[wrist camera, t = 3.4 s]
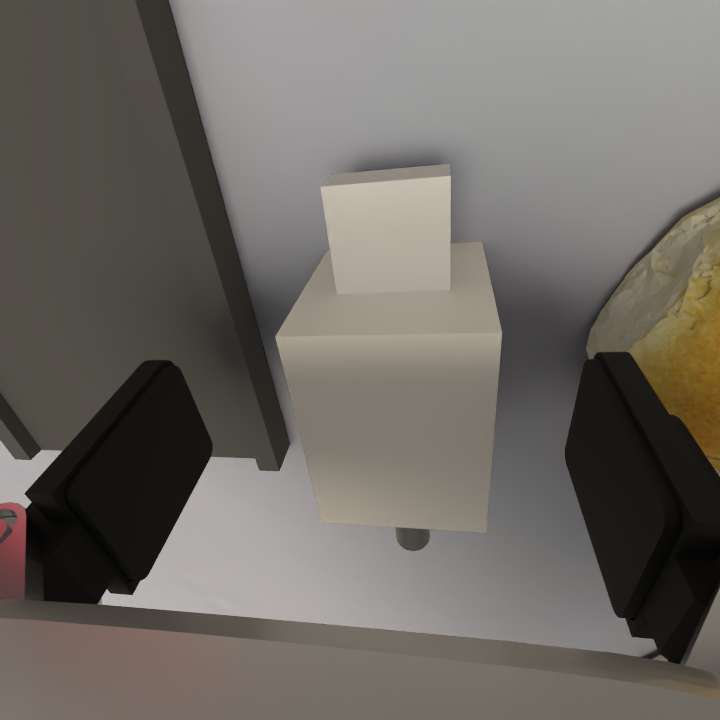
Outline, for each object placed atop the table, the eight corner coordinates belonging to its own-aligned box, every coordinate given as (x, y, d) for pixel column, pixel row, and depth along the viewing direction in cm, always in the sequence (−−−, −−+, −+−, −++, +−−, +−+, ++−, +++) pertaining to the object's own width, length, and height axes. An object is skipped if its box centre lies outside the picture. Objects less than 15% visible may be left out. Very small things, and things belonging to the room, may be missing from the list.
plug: (471, 484, 18) (480, 612, 14) (363, 479, 18) (341, 598, 14) (485, 145, 11) (512, 198, 7) (313, 161, 12) (244, 217, 8)
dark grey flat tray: (289, 444, 18) (279, 471, 17) (39, 436, 20) (15, 459, 19) (32, -493, 7) (-51, -606, 6) (-461, -278, 9) (-592, -327, 8)
